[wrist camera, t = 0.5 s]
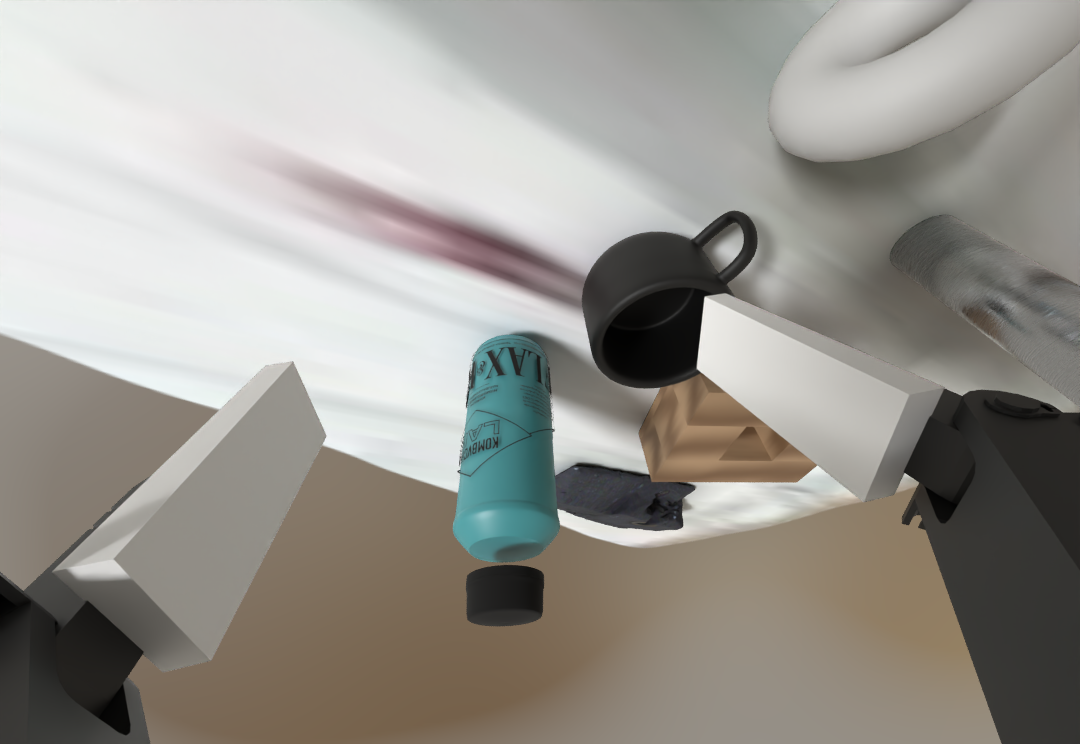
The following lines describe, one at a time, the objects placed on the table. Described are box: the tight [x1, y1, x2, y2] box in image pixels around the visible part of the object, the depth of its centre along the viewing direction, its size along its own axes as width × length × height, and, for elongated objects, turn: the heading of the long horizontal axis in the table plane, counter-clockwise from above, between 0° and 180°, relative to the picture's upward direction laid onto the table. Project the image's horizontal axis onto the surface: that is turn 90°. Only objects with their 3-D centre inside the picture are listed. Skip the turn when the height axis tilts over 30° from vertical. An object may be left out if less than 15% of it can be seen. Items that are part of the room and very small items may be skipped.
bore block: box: [639, 347, 853, 482], centre depth 37 cm, size 14×16×6 cm
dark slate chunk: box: [555, 466, 695, 531], centre depth 52 cm, size 15×22×5 cm
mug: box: [582, 211, 757, 388], centre depth 25 cm, size 12×9×7 cm
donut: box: [768, 0, 1080, 162], centre depth 15 cm, size 10×4×10 cm, turn 134°
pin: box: [890, 215, 1080, 407], centre depth 22 cm, size 4×4×14 cm
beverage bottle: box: [453, 335, 560, 626], centre depth 26 cm, size 6×7×20 cm
